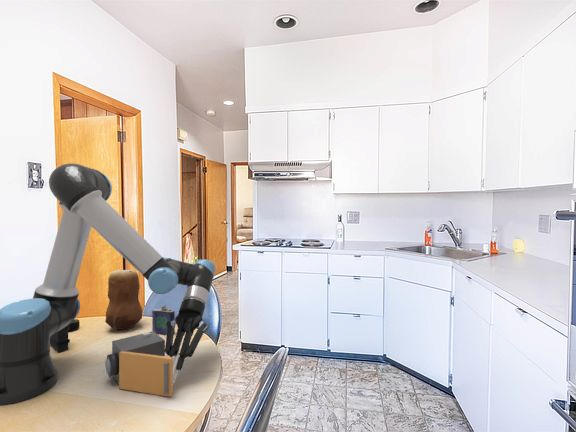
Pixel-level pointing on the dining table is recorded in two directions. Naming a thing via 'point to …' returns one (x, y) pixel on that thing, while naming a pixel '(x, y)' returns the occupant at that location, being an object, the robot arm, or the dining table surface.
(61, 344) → the black upright slab
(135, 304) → the butternut squash
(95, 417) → the dining table surface
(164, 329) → the flask
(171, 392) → the side door
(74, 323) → the tape measure
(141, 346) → the block
